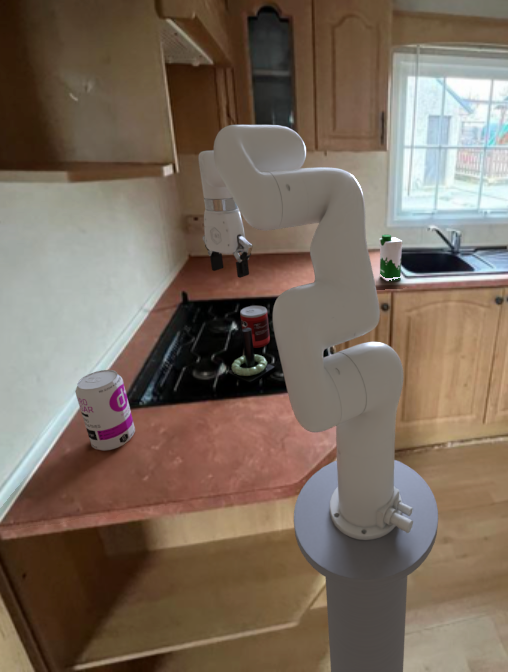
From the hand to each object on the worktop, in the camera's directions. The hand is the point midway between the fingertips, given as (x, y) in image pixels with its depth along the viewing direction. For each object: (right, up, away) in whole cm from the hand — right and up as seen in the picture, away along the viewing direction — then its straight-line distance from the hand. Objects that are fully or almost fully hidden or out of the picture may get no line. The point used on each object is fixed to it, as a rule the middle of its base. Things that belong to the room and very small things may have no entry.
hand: (230, 272), depth 104 cm
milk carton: (+45, 0, +81) cm, 92 cm away
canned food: (0, -21, +25) cm, 32 cm away
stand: (+3, -27, +8) cm, 29 cm away
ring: (+2, -25, +8) cm, 26 cm away
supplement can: (-20, -37, -16) cm, 44 cm away
